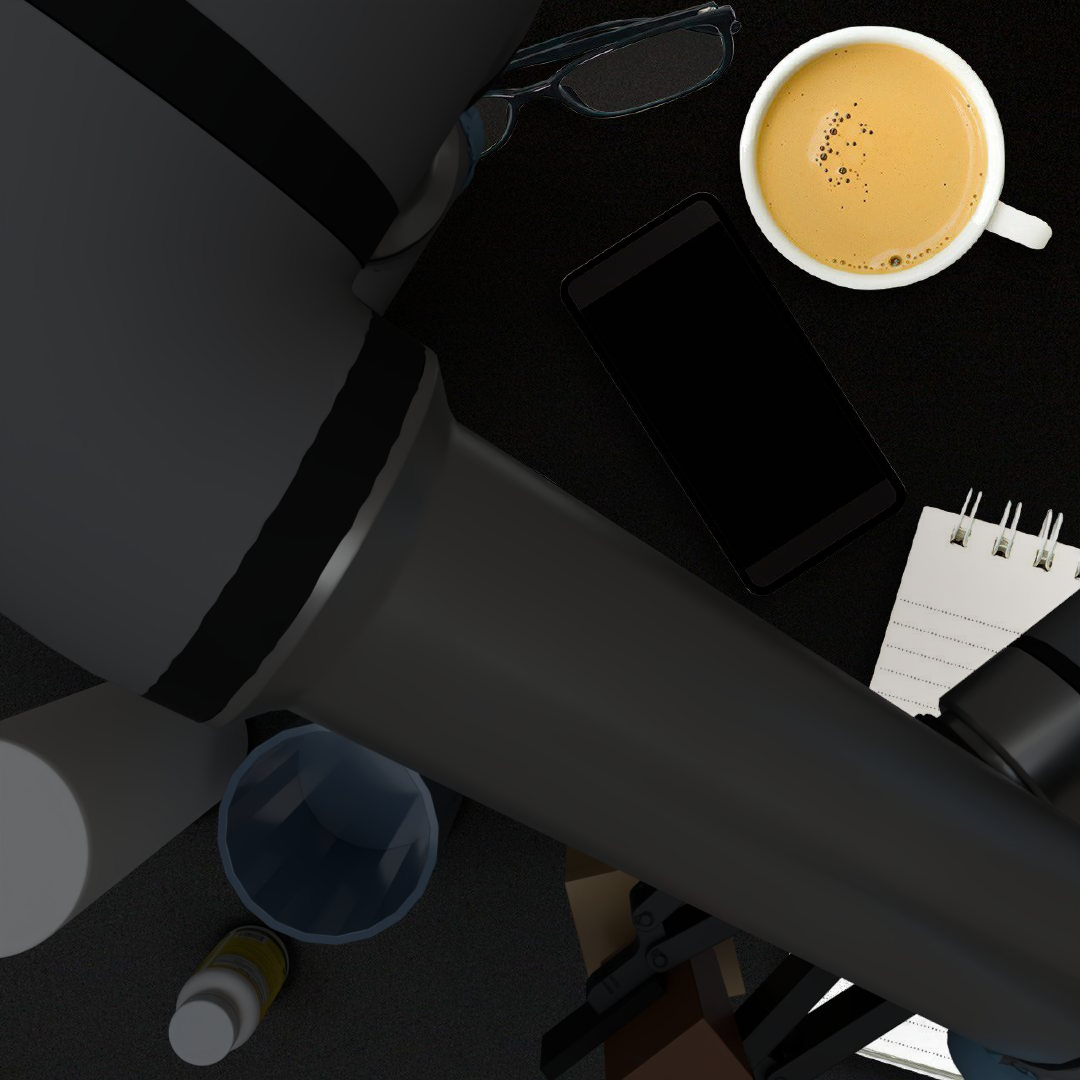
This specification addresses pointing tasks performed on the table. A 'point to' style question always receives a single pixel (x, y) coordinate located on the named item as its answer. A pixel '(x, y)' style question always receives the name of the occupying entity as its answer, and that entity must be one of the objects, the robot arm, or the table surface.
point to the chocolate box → (681, 1030)
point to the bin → (330, 835)
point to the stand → (619, 915)
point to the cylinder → (96, 799)
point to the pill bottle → (228, 995)
